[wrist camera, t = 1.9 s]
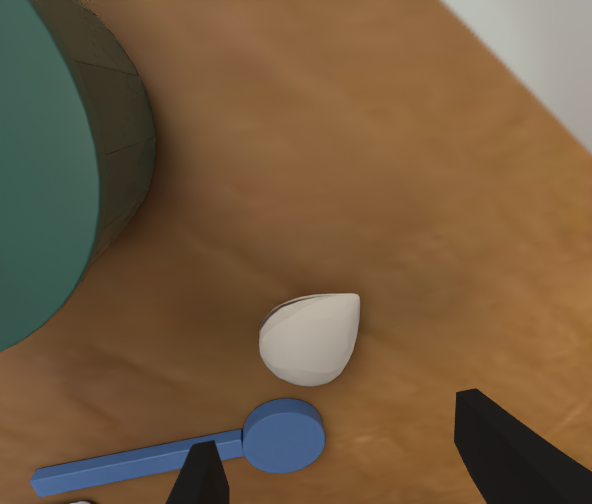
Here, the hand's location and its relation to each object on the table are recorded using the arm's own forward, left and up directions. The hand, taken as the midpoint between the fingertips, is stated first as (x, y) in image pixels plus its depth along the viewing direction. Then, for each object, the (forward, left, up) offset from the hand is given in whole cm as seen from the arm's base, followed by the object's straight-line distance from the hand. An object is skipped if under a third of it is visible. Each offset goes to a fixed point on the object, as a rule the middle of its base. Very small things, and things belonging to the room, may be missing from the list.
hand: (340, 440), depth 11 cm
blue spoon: (-7, +8, -7) cm, 12 cm away
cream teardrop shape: (0, 0, -7) cm, 7 cm away
